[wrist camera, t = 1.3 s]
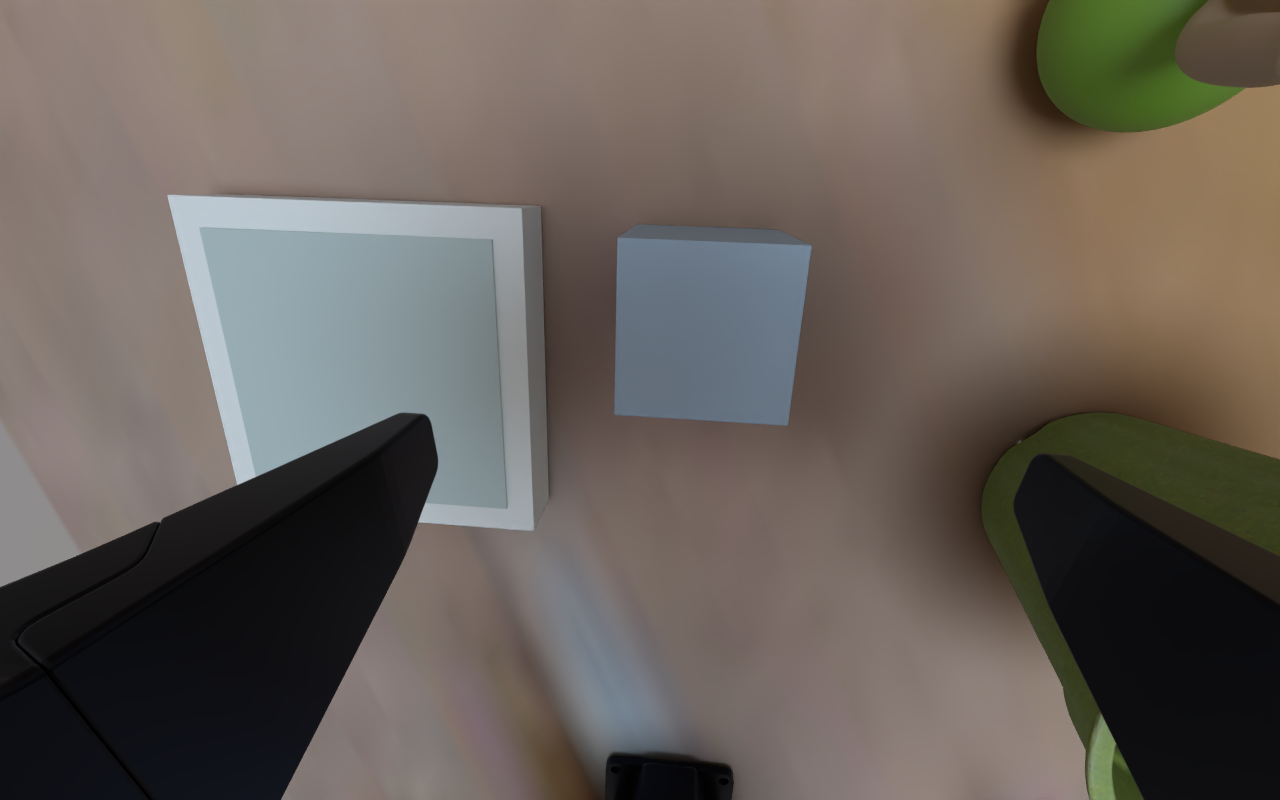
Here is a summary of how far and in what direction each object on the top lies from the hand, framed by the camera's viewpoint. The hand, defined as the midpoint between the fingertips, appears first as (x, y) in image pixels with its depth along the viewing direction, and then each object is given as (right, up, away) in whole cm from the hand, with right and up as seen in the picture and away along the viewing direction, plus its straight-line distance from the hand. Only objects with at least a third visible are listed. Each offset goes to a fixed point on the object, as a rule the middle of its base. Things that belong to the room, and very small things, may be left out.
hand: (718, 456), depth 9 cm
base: (-11, +3, +14) cm, 18 cm away
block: (+1, +5, +13) cm, 13 cm away
